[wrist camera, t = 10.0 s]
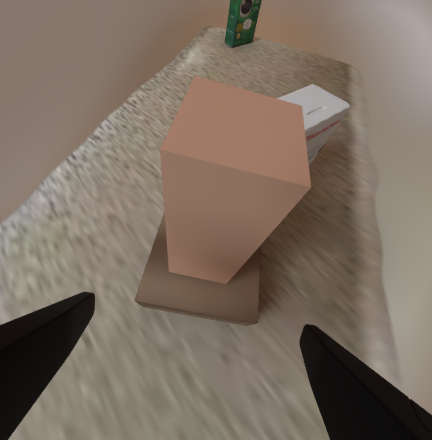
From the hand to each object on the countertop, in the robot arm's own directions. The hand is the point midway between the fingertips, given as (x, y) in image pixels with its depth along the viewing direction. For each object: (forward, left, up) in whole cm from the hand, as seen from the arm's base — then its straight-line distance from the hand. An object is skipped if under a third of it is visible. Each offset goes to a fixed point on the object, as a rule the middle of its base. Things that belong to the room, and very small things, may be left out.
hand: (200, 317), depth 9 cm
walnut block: (+6, -1, -12) cm, 14 cm away
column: (+6, 0, -8) cm, 10 cm away
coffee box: (+65, -6, -12) cm, 66 cm away
